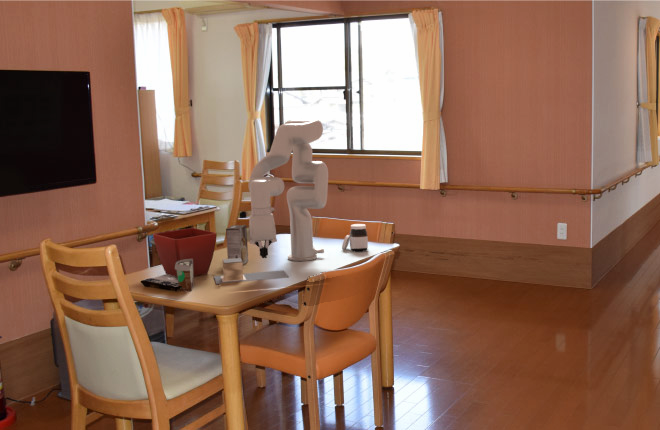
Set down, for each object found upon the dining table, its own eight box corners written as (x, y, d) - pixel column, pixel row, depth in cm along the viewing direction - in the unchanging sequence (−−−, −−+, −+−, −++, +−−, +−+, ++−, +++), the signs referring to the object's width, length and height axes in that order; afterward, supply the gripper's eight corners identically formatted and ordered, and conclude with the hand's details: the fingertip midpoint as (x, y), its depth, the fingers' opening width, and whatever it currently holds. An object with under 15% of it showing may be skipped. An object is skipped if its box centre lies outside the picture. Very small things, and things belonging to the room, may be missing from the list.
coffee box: (234, 261, 320) (232, 224, 318) (248, 261, 319) (246, 224, 317) (227, 265, 312) (225, 228, 309) (242, 266, 310) (240, 228, 308)
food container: (178, 284, 281) (176, 259, 280) (194, 284, 282) (192, 258, 280) (174, 293, 269) (172, 266, 268) (191, 292, 270) (189, 265, 268)
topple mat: (283, 271, 298) (283, 270, 298) (289, 278, 285) (289, 277, 285) (213, 277, 291) (213, 275, 291) (216, 284, 279) (216, 283, 279)
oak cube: (222, 259, 288) (223, 276, 289) (224, 262, 281) (225, 280, 282) (240, 257, 290) (241, 275, 291) (242, 261, 283) (243, 279, 284)
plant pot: (220, 273, 298) (217, 232, 296) (178, 282, 286) (175, 239, 283) (195, 266, 312) (192, 227, 310) (154, 274, 300) (151, 233, 297)
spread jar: (369, 252, 331) (368, 226, 329) (344, 253, 329) (343, 227, 327) (364, 247, 343) (363, 222, 341) (340, 248, 341) (339, 223, 339)
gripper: (278, 208, 292) (281, 253, 295) (241, 211, 288) (244, 257, 291) (281, 211, 284) (284, 257, 288) (243, 214, 281) (246, 261, 284)
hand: (264, 257), depth 289 cm, fingers closed
